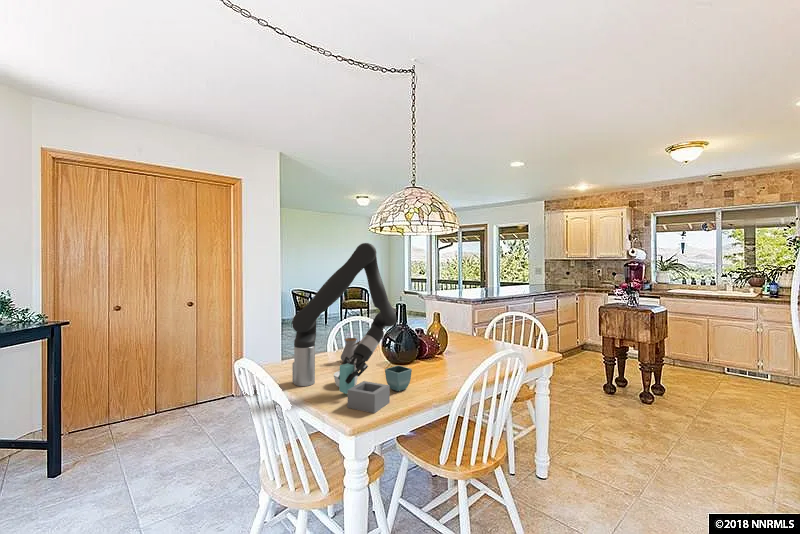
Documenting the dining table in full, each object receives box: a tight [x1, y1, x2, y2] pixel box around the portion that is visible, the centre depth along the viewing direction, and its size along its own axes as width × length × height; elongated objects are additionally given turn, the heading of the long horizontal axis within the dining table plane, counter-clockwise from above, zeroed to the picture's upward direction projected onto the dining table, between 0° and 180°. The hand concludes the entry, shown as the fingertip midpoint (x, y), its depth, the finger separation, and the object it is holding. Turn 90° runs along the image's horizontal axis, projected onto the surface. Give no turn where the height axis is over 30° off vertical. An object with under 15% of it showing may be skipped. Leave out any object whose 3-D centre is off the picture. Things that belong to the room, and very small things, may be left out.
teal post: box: [338, 363, 355, 395], centre depth 165 cm, size 4×4×11 cm
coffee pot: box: [340, 337, 361, 363], centre depth 212 cm, size 21×12×15 cm, turn 32°
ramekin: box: [333, 370, 359, 388], centre depth 178 cm, size 11×11×5 cm
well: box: [346, 380, 391, 414], centre depth 153 cm, size 12×12×7 cm
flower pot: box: [384, 365, 413, 392], centre depth 172 cm, size 9×9×9 cm
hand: (343, 381), depth 163 cm, fingers closed on teal post, 4 cm apart
